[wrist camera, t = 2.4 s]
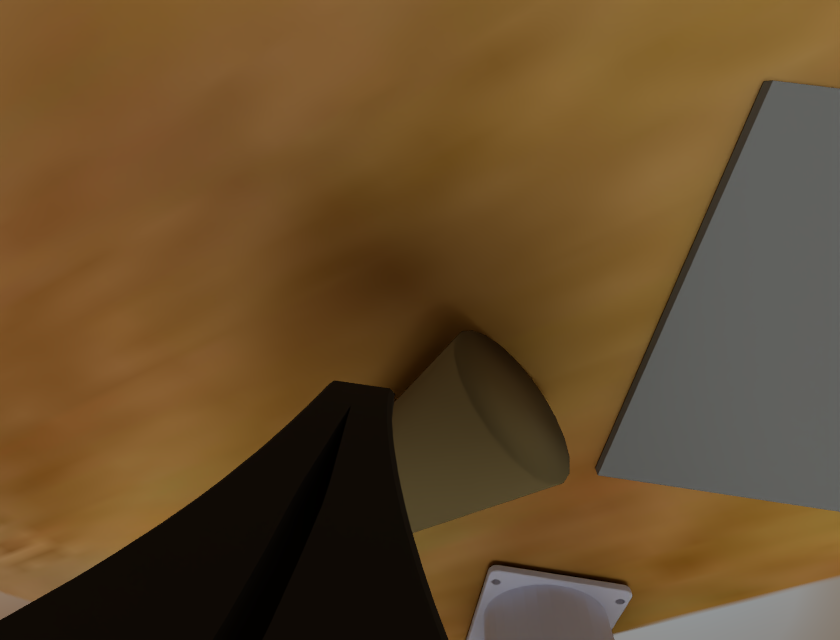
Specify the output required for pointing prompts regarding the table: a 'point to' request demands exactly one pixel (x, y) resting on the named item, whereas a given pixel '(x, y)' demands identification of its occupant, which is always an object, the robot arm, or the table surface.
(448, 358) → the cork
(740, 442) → the topple mat
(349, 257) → the table surface
